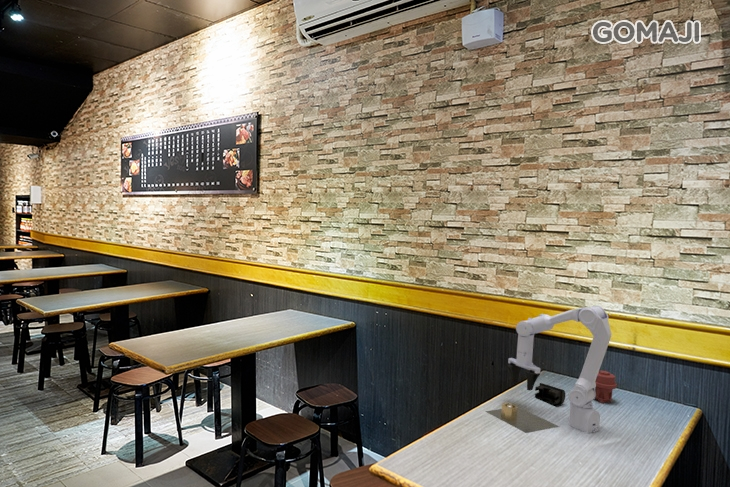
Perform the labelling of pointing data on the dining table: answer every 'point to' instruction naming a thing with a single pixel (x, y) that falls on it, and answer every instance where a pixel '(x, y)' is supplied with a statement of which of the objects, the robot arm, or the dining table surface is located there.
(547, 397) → the end cap
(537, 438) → the dining table surface
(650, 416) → the dining table surface
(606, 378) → the mechanical component
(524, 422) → the shaft stand
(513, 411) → the bronze hub
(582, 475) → the dining table surface
